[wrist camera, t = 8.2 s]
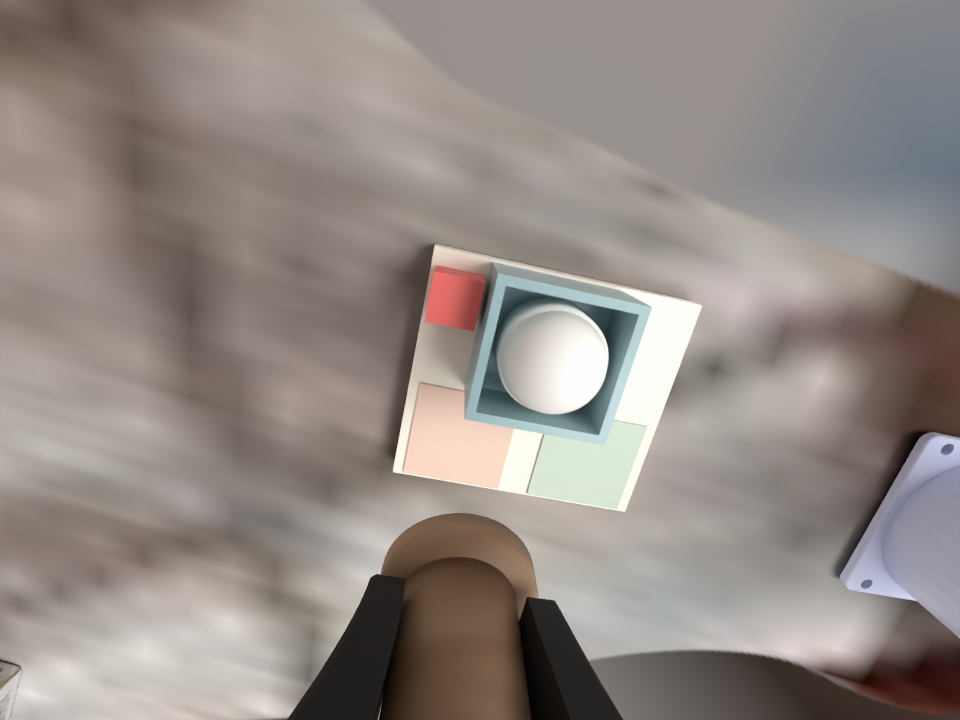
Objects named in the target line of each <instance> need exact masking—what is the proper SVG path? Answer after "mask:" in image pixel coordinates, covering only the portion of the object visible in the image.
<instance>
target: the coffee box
mask: <svg viewBox="0 0 960 720" xmlns="http://www.w3.org/2000/svg"><path fill="white" fill-rule="evenodd" d="M20 675H21V669H20V668H19V667H18V666H16V665H12V664H9V663H4V662H0V720H9V719H10V715H11V711H12V707H13V703H14V699H15V695H16V691H17V688H18V683H19V679H20Z"/></svg>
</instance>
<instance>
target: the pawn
mask: <svg viewBox="0 0 960 720" xmlns="http://www.w3.org/2000/svg"><path fill="white" fill-rule="evenodd" d="M381 575H385V576H392V577H399V578H406V581H405V589H404V596H403V604H402V610H401V615H400V620H399V624H398V629H397V634H396V638H395V643H394V647H393V652H392V656H391V660H390V664H389V668H388V672H387V676H386V681H385V687H384V693H383V699H382V705H381V711H380V717H379V720H532V717H531V710H530V702H529V694H528V687H527V679H526V672H525V664H524V656H523V649H522V641H521V633H520V626H519V620H520V617H521V614H522V611H523V608H524V604H525V601H526V598H527V597H533V598H538V590H537V585H536V579H535V574H534V569H533V564H532V560H531V556H530V554H529V552H528V549H527V548H526V546H525V545H524V543H523V542H522V541H521V539H520V538H519V537H518V536H517V535H516V534H515V533H514V532H513V531H511V530H510V529H509V528H507V527H506V526H504V525H503V524H501V523H499V522H497V521H495V520H492V519H489V518H486V517H483V516H479V515H474V514H466V513H452V514H443V515H439V516H434V517H431V518H428V519H425V520H423V521H421V522H419V523H417V524H415V525H413V526H412V527H410V528H408V529H407V530H406V531H404V532H403V533H402V534H401V535H400V536H399V537H398V538H397V539H396V540H395V541H394V542H393V544H392V545H391V547H390V548H389V550H388V552H387V554H386V557H385V560H384V563H383V567H382V572H381Z"/></svg>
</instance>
